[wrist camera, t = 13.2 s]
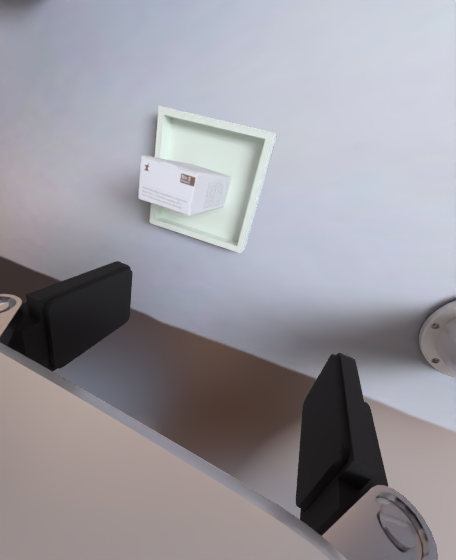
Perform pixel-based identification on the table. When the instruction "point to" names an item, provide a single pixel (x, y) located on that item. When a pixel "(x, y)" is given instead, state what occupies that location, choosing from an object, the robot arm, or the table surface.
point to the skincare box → (181, 186)
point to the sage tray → (221, 158)
